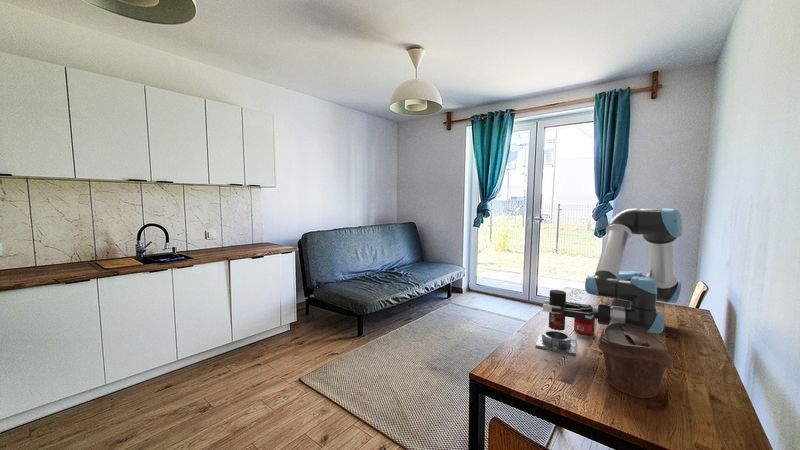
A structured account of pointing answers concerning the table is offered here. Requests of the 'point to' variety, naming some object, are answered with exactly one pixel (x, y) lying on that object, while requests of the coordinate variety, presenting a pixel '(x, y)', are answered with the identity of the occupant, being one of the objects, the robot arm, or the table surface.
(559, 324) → the deodorant
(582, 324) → the canned food
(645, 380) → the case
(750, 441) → the table surface
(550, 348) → the hub socket
